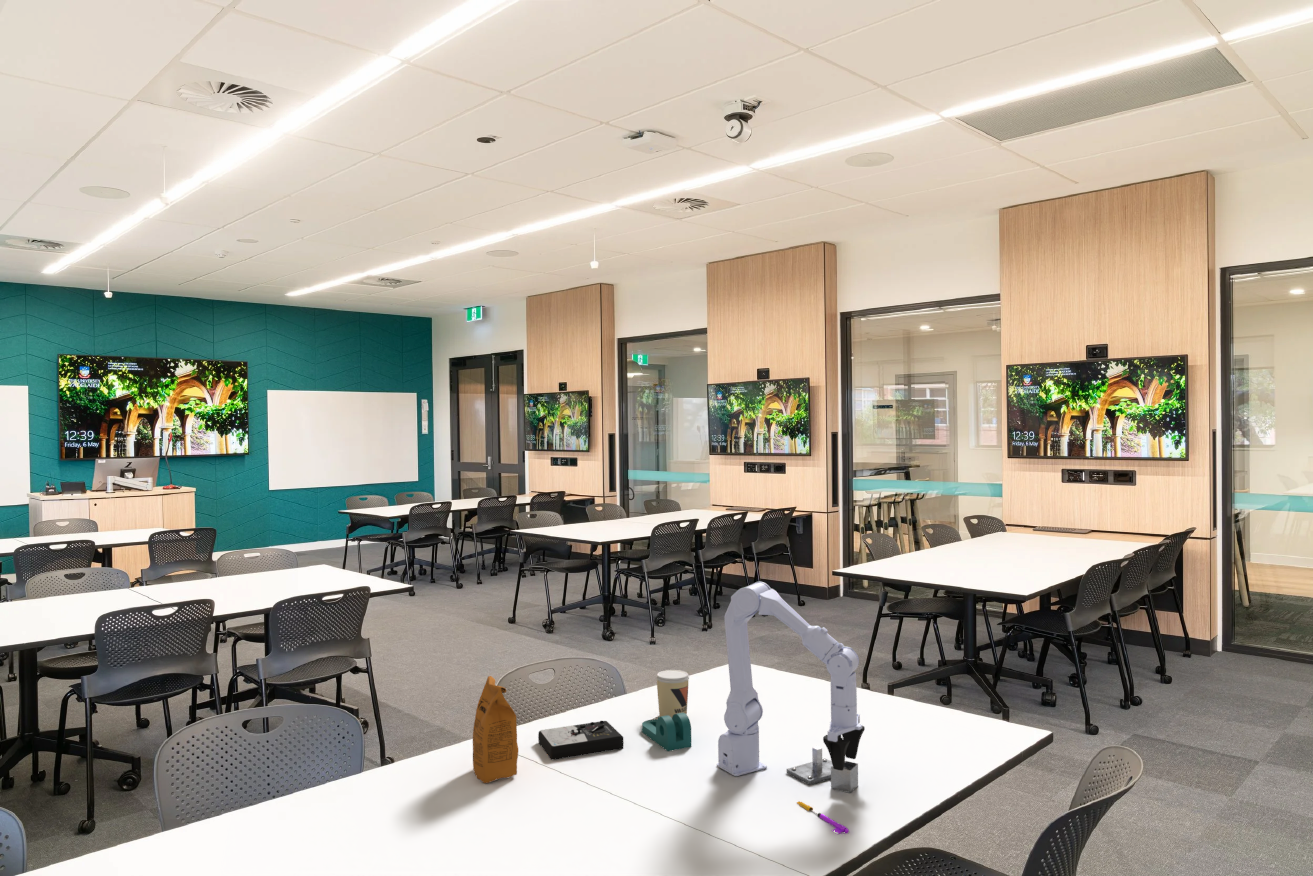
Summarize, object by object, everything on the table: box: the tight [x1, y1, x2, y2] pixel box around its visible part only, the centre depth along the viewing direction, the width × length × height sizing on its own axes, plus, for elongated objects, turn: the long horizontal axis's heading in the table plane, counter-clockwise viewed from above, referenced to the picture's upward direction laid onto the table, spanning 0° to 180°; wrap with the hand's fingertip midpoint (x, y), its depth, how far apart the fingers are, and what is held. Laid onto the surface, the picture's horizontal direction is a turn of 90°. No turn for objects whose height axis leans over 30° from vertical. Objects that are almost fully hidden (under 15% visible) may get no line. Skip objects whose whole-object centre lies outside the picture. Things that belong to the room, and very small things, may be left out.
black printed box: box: [537, 720, 624, 761], centre depth 217 cm, size 13×19×5 cm
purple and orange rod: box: [796, 801, 850, 834], centre depth 174 cm, size 3×1×16 cm
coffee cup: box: [655, 669, 690, 718], centre depth 238 cm, size 9×9×12 cm
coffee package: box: [472, 675, 519, 784], centre depth 199 cm, size 10×12×22 cm
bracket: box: [641, 713, 692, 752], centre depth 221 cm, size 18×7×8 cm, turn 26°
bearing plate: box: [786, 745, 832, 786], centre depth 197 cm, size 12×8×6 cm, turn 121°
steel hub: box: [830, 760, 859, 794], centre depth 189 cm, size 5×5×5 cm
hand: (844, 763), depth 189 cm, fingers open, 7 cm apart
